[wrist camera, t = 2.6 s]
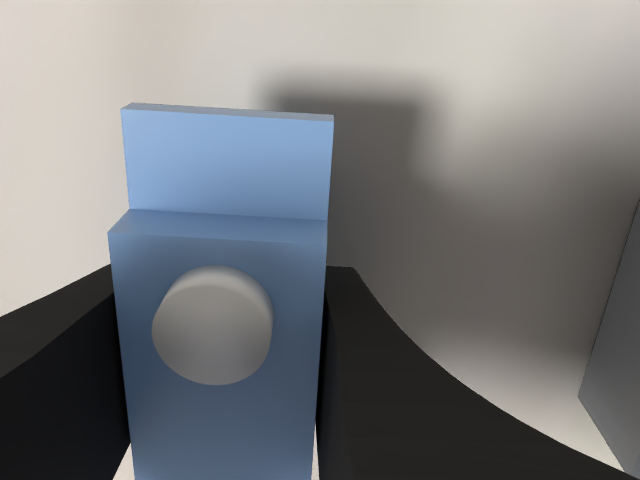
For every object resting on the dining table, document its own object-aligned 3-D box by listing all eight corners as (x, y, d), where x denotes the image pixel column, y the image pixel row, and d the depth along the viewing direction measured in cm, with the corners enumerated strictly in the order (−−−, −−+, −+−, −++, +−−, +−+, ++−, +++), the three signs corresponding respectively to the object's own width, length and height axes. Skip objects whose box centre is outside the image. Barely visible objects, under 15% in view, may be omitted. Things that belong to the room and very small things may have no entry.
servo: (311, 412, 14) (304, 595, 10) (193, 406, 14) (132, 587, 9) (332, 88, 10) (335, 149, 6) (176, 78, 10) (74, 133, 6)
